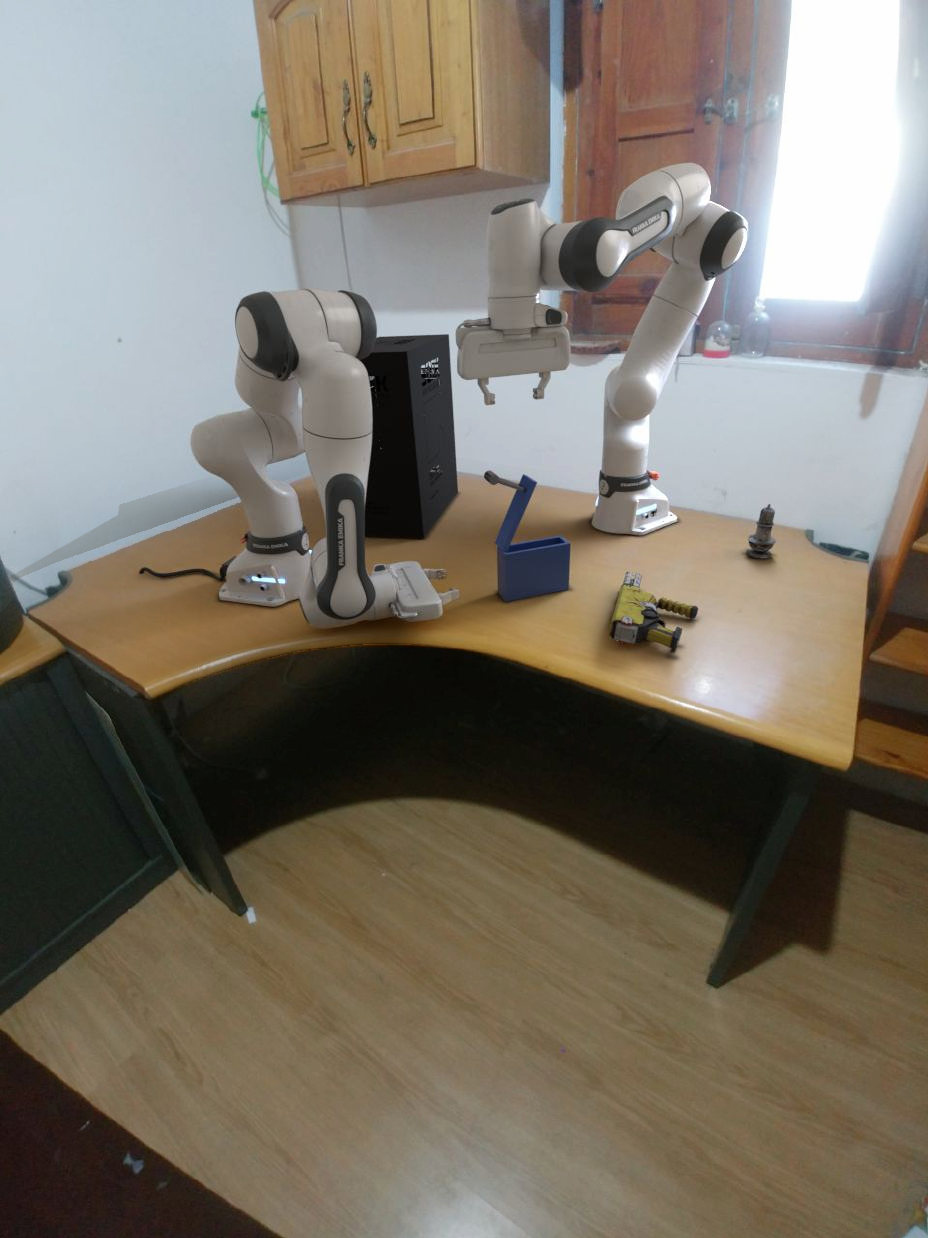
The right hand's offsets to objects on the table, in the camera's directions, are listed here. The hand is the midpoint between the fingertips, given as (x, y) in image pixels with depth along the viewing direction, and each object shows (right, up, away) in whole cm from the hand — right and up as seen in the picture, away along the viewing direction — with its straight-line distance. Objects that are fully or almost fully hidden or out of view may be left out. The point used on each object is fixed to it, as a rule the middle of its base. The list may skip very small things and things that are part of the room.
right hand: (514, 401), depth 109 cm
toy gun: (+28, -40, +7) cm, 49 cm away
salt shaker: (+59, -24, +30) cm, 71 cm away
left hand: (-12, -32, +14) cm, 37 cm away
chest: (+6, -33, +21) cm, 40 cm away
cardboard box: (-25, -8, +67) cm, 72 cm away
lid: (+1, -19, +11) cm, 22 cm away
